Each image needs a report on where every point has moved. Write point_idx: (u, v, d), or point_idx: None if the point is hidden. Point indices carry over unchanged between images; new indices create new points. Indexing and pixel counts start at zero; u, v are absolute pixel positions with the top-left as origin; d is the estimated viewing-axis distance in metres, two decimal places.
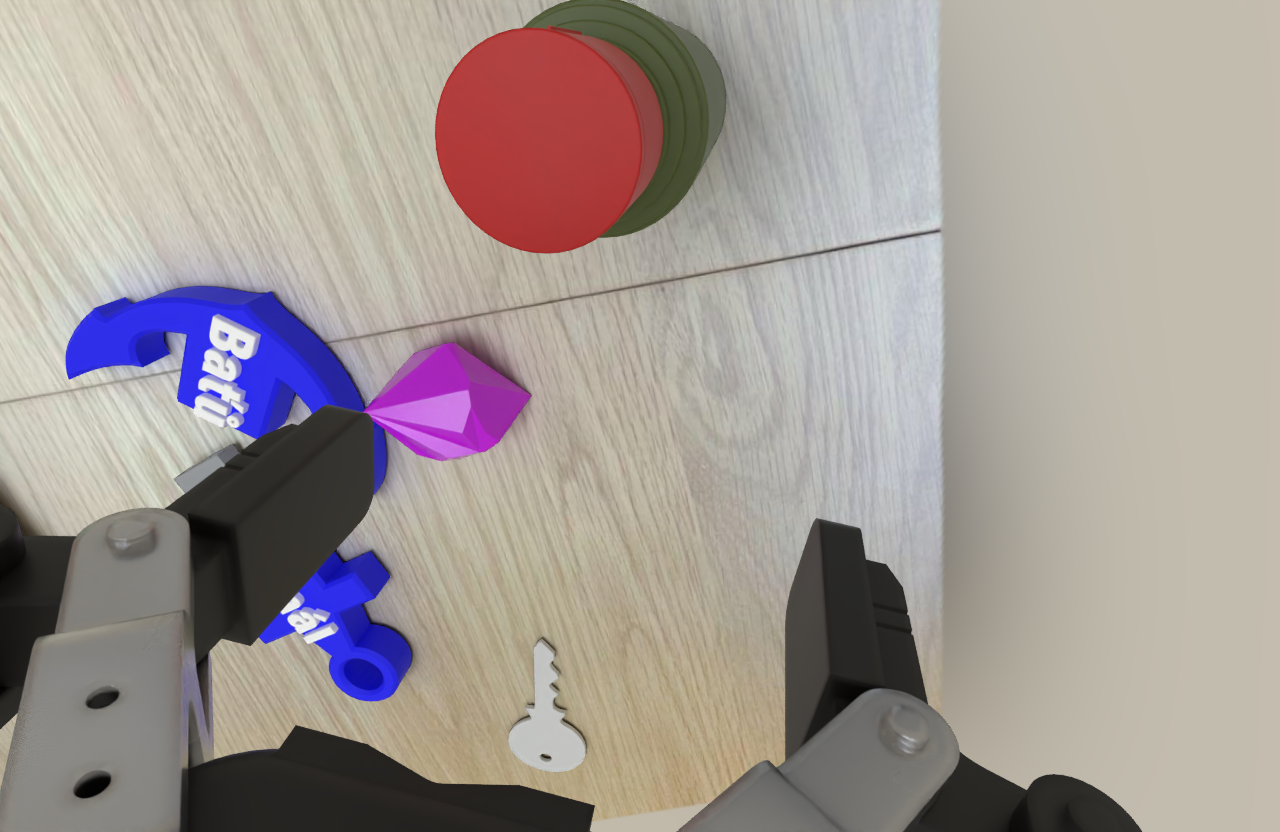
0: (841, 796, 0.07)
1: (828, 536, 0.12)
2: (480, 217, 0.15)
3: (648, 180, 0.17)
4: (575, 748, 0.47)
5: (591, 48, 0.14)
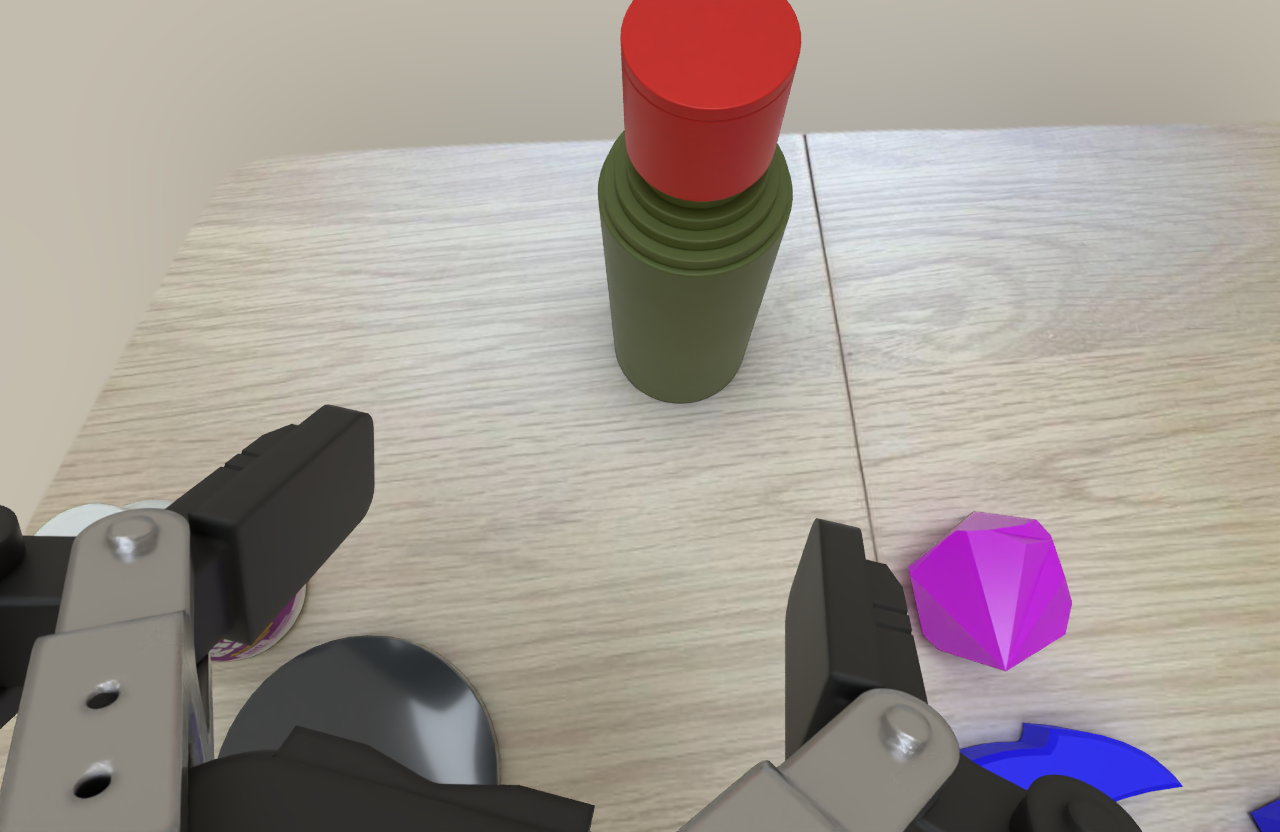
0: (841, 795, 0.07)
1: (828, 537, 0.12)
2: (765, 85, 0.17)
3: None
4: None
5: None
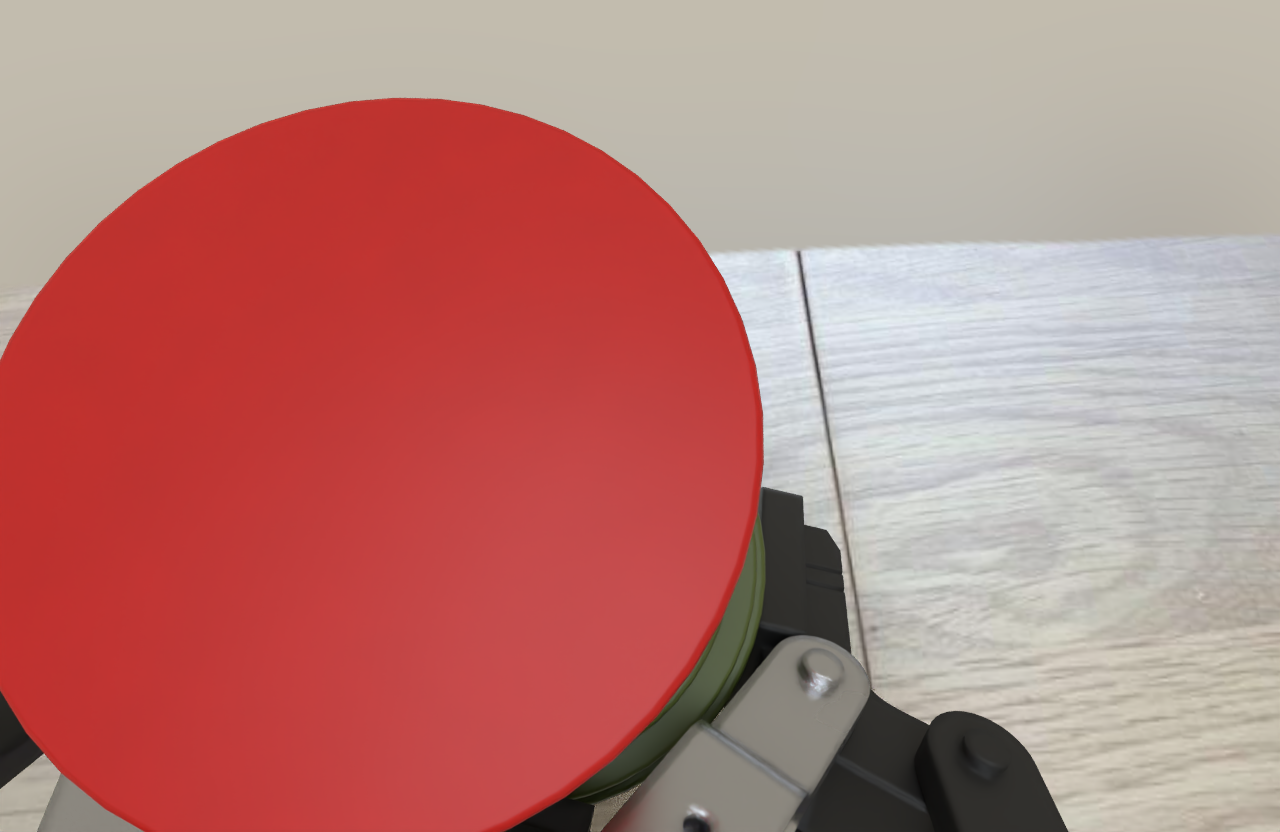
0: (770, 740, 0.08)
1: (770, 503, 0.12)
2: (585, 719, 0.03)
3: None
4: None
5: (129, 203, 0.04)
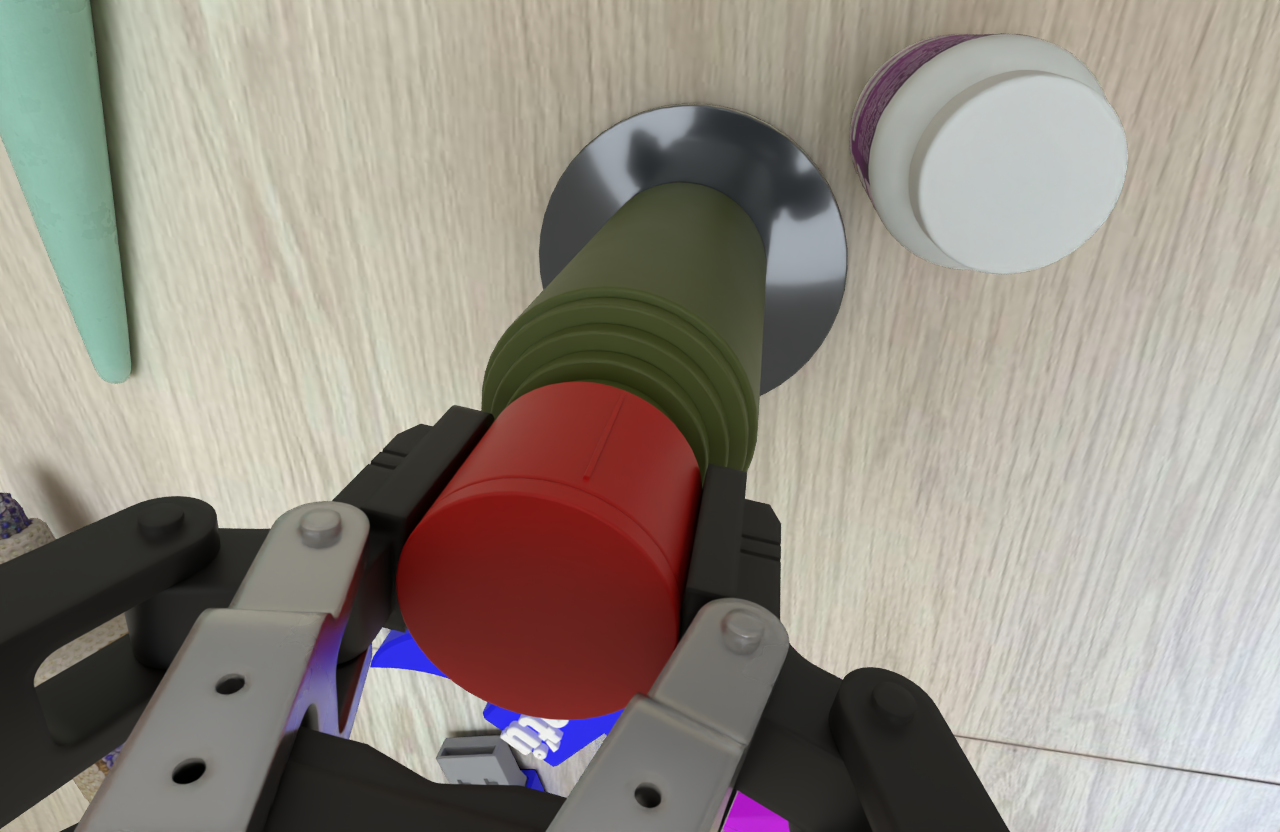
0: (704, 702, 0.08)
1: (714, 478, 0.13)
2: (439, 656, 0.11)
3: None
4: None
5: (638, 544, 0.10)
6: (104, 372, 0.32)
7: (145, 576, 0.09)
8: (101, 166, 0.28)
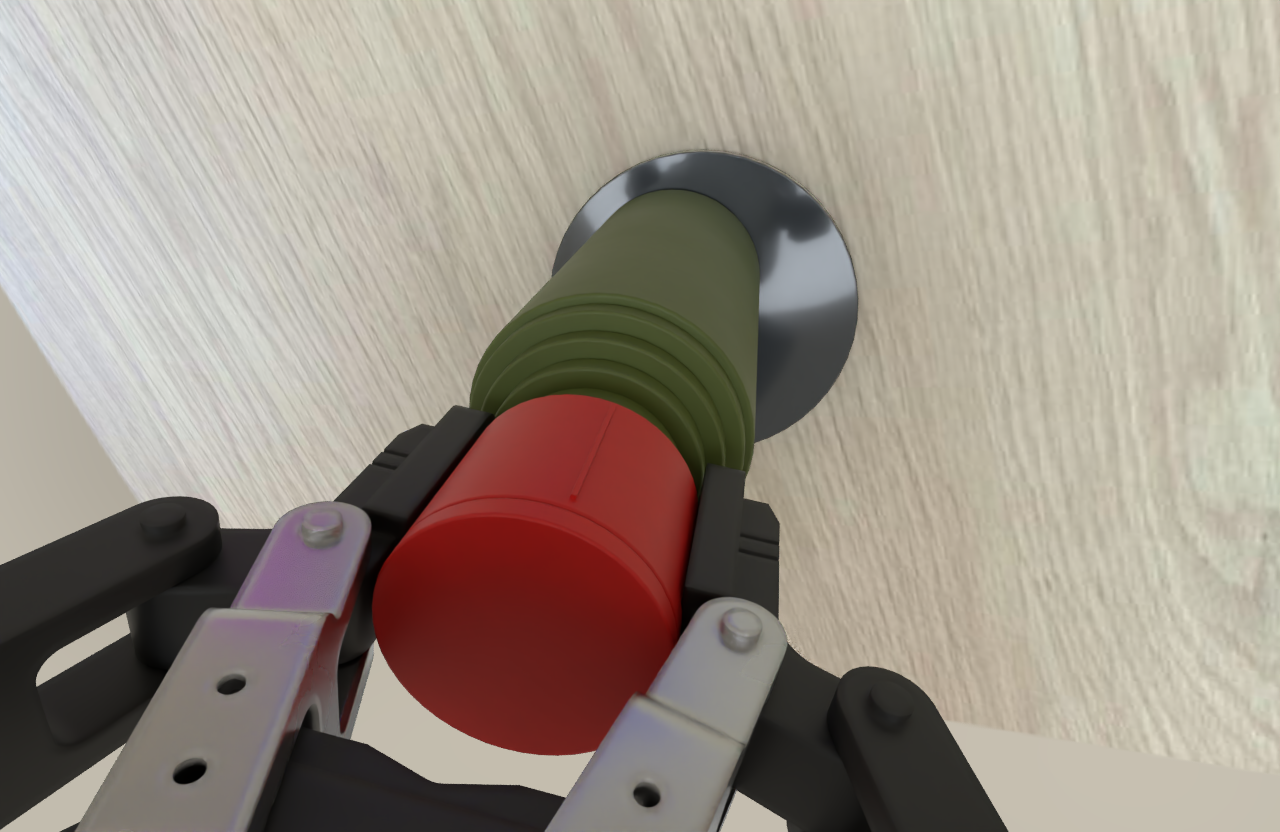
0: (703, 702, 0.08)
1: (713, 477, 0.13)
2: (419, 690, 0.11)
3: None
4: None
5: (629, 567, 0.09)
6: None
7: (147, 576, 0.09)
8: None
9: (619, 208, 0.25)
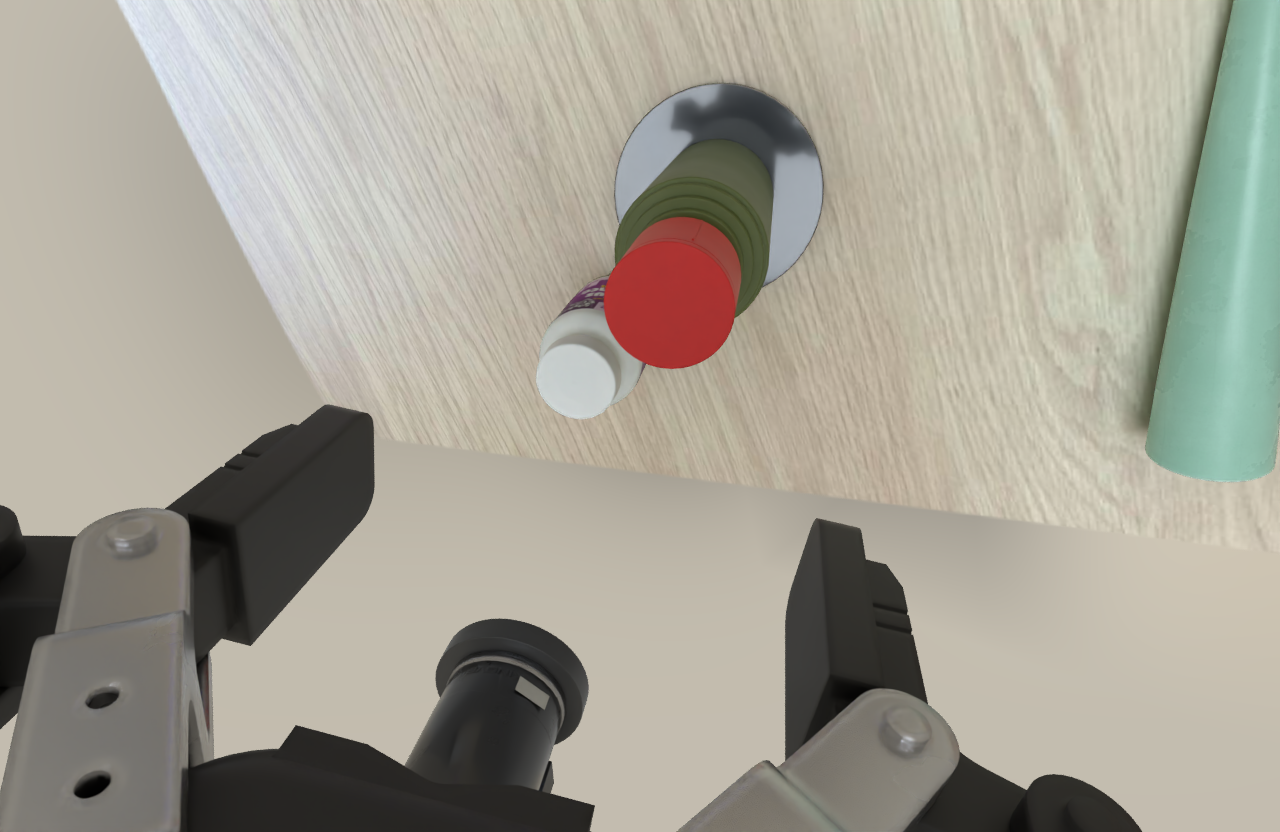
0: (840, 795, 0.07)
1: (828, 537, 0.12)
2: (620, 336, 0.24)
3: None
4: None
5: (717, 263, 0.22)
6: None
7: None
8: (1212, 107, 0.33)
9: (681, 152, 0.38)
